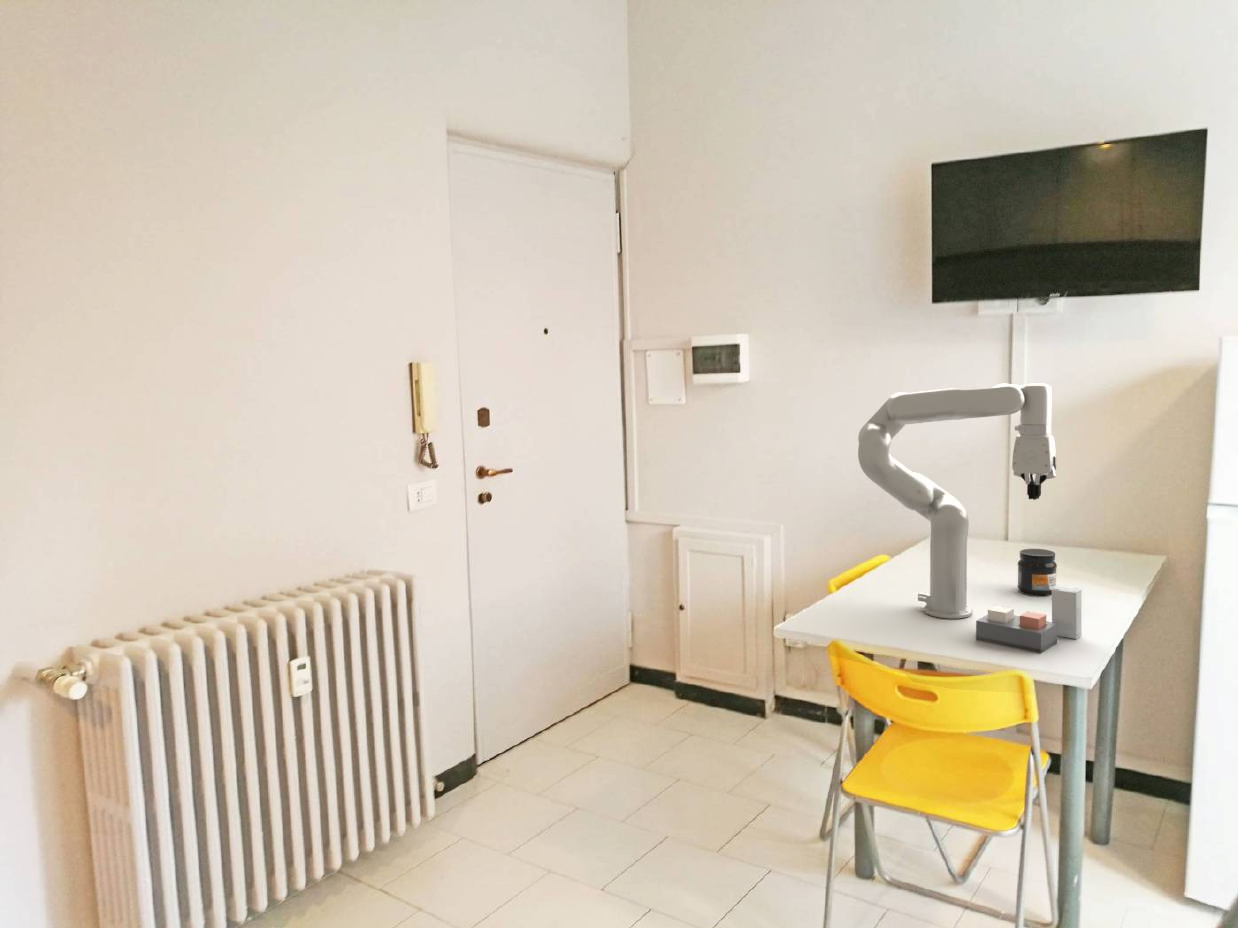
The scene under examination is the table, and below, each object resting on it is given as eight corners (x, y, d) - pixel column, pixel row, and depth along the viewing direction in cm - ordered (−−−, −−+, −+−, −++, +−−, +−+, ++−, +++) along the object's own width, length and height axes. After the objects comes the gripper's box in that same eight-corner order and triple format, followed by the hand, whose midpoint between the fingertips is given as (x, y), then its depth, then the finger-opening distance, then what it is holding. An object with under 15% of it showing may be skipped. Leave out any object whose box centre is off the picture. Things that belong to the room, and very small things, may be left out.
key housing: (976, 639, 231) (976, 620, 231) (993, 630, 238) (993, 611, 238) (1040, 653, 220) (1041, 633, 219) (1057, 642, 227) (1057, 623, 226)
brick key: (1019, 633, 226) (1019, 615, 225) (1027, 628, 229) (1027, 611, 228) (1038, 636, 223) (1038, 619, 222) (1046, 632, 226) (1046, 614, 225)
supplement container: (1060, 596, 265) (1061, 556, 263) (1021, 596, 267) (1022, 556, 266) (1051, 587, 275) (1051, 548, 274) (1013, 586, 277) (1014, 547, 276)
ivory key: (987, 626, 232) (987, 609, 231) (995, 622, 235) (995, 605, 234) (1005, 630, 228) (1005, 612, 228) (1013, 625, 231) (1013, 608, 231)
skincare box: (1082, 635, 231) (1083, 588, 230) (1076, 640, 228) (1077, 592, 227) (1056, 631, 236) (1057, 585, 234) (1050, 635, 232) (1051, 589, 231)
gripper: (1001, 430, 246) (1000, 498, 248) (1058, 433, 235) (1057, 503, 238) (1013, 428, 251) (1012, 494, 253) (1070, 430, 240) (1068, 499, 243)
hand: (1033, 498), depth 246 cm, fingers closed
